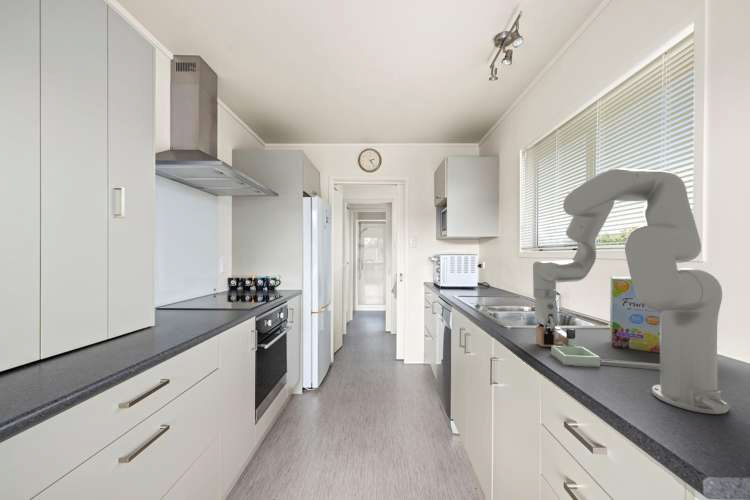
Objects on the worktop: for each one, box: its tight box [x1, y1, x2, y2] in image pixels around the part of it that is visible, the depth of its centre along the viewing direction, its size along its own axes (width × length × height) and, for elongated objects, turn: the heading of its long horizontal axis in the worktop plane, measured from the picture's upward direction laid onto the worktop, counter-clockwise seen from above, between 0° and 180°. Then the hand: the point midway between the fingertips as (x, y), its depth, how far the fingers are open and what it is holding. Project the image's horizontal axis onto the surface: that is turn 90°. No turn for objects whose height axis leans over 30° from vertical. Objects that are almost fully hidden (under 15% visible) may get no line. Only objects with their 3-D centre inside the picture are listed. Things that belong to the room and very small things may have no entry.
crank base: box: [556, 341, 565, 346], centre depth 117 cm, size 6×6×1 cm
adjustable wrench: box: [600, 358, 660, 371], centre depth 93 cm, size 25×6×2 cm, turn 66°
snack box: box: [609, 275, 663, 354], centre depth 109 cm, size 22×9×26 cm, turn 57°
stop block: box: [535, 326, 557, 348], centre depth 113 cm, size 5×5×6 cm
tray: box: [550, 345, 601, 368], centre depth 98 cm, size 10×10×3 cm
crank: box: [554, 326, 577, 347], centre depth 111 cm, size 16×4×7 cm, turn 171°
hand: (545, 341), depth 113 cm, fingers closed on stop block, 5 cm apart
